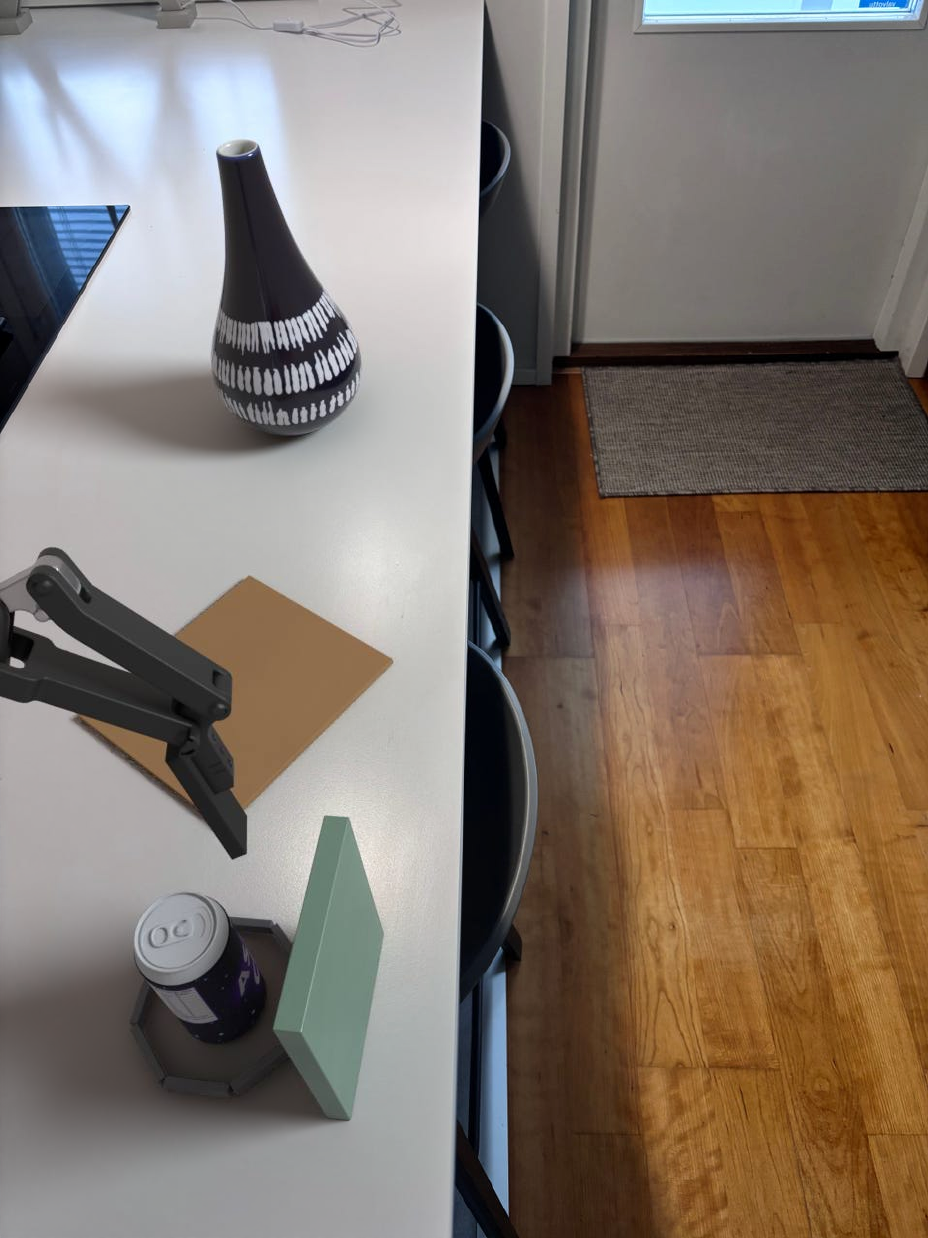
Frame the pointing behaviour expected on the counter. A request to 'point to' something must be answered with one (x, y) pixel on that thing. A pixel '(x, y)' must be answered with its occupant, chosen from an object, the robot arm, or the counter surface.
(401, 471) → the counter surface
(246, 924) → the green panel with ring
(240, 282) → the vase
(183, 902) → the beverage can
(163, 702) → the robot arm
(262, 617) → the cork mat
